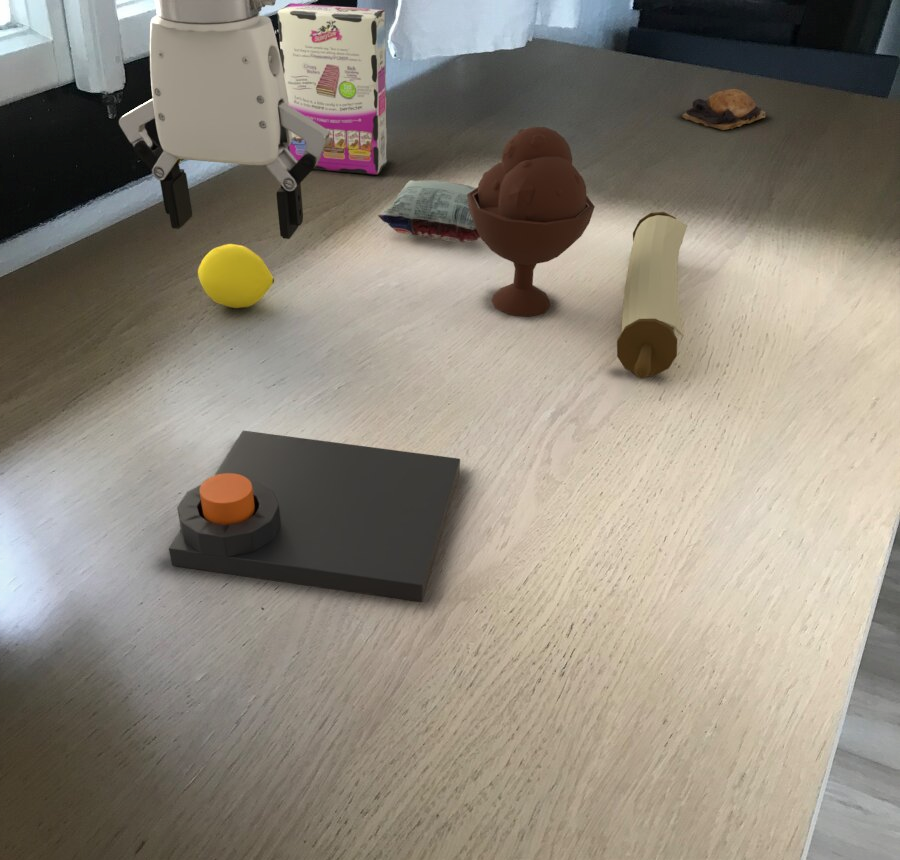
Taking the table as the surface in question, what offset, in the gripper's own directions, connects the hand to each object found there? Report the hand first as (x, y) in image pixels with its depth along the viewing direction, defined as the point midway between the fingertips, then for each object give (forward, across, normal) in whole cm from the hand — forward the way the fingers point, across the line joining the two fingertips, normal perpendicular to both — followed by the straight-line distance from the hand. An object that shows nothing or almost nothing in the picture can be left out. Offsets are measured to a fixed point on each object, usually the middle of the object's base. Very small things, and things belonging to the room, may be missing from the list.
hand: (235, 227), depth 84 cm
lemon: (+7, +1, 0) cm, 7 cm away
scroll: (+8, -36, -8) cm, 38 cm away
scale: (+7, -15, +29) cm, 34 cm away
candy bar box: (+8, +2, -39) cm, 39 cm away
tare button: (+4, -11, +33) cm, 35 cm away
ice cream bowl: (+8, -24, -7) cm, 26 cm away
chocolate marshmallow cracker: (+9, -45, -74) cm, 87 cm away
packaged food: (+8, -14, -22) cm, 27 cm away
